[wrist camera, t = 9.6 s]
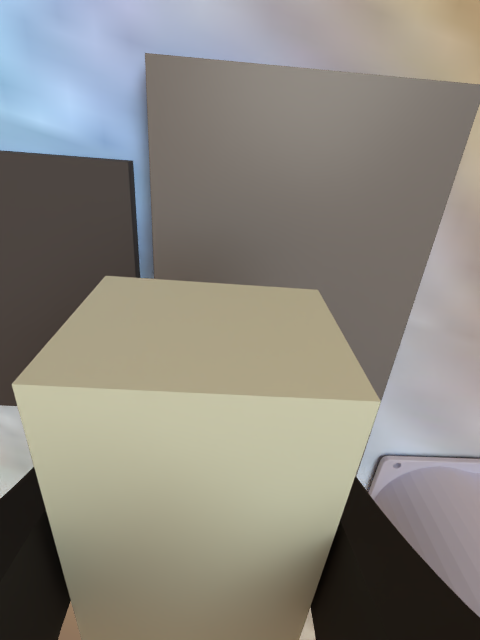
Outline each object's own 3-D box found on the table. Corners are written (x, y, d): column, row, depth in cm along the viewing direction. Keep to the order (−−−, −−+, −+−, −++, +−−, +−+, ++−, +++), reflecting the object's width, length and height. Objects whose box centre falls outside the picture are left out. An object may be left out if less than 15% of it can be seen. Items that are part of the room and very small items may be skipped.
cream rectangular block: (317, 289, 8) (380, 402, 5) (271, 520, 13) (287, 671, 9) (105, 275, 8) (12, 384, 5) (130, 517, 12) (90, 671, 9)
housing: (461, 89, 14) (584, 65, 9) (344, 472, 24) (373, 558, 19) (153, 61, 13) (108, 19, 8) (166, 466, 23) (149, 553, 19)
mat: (132, 160, 15) (127, 162, 14) (147, 401, 21) (144, 410, 20) (-67, 145, 14) (-82, 145, 14) (7, 395, 20) (-1, 405, 20)
